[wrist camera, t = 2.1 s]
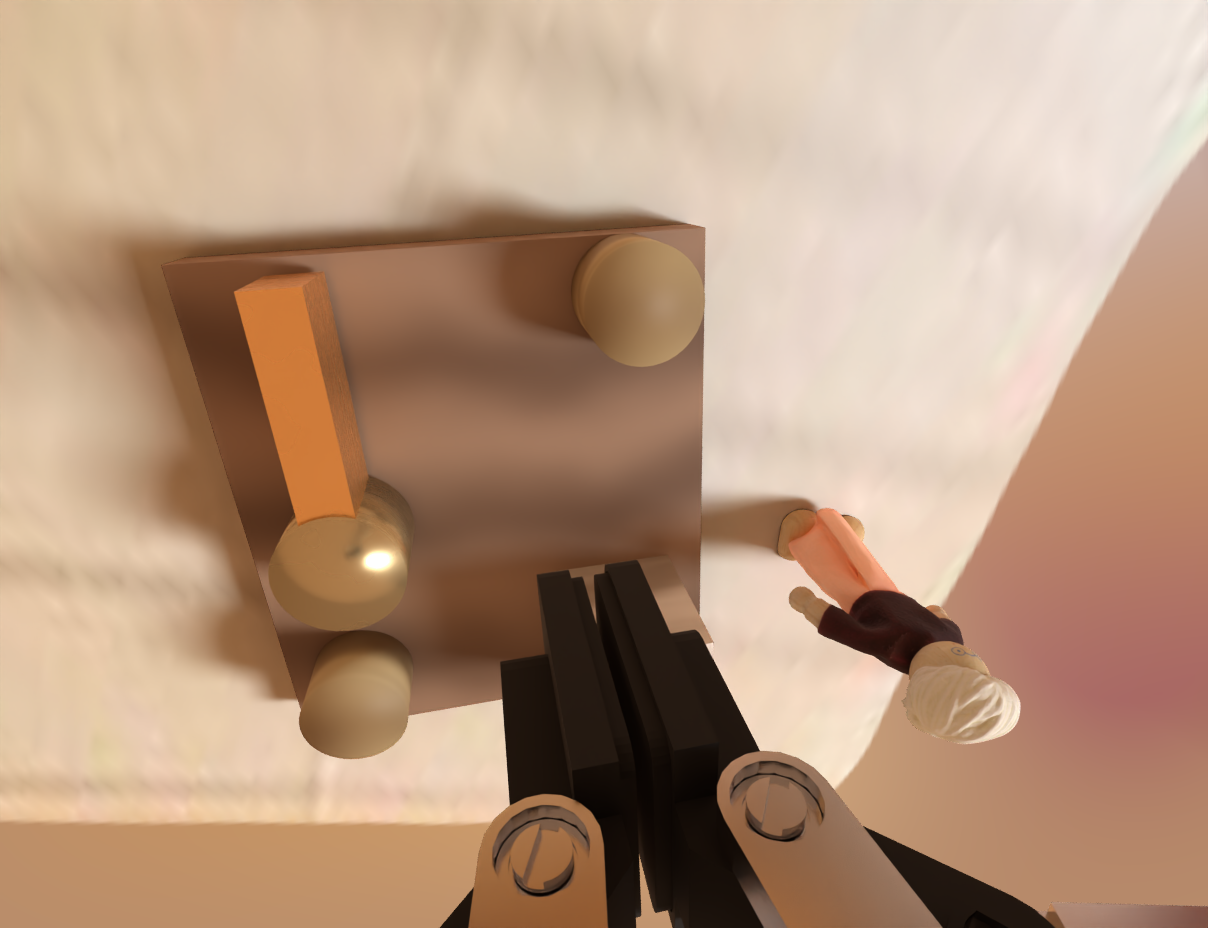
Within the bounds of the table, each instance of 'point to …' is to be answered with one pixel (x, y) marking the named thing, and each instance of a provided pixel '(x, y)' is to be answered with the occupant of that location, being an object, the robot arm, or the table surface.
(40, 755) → the table surface
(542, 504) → the base
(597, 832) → the robot arm
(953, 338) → the table surface
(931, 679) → the grandmother figurine
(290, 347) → the orange lever bar
